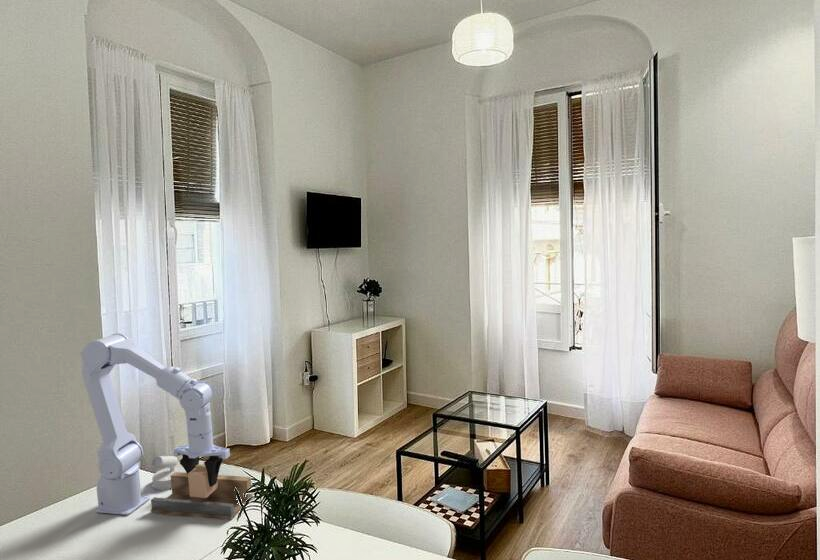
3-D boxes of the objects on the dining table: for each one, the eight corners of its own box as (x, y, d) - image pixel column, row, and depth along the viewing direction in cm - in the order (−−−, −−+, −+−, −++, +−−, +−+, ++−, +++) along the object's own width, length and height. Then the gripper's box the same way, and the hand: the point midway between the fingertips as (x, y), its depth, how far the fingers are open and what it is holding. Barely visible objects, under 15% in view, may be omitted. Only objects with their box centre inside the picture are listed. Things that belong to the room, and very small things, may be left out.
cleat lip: (151, 509, 128) (150, 499, 128) (155, 506, 129) (154, 497, 129) (231, 516, 123) (230, 506, 123) (234, 513, 124) (233, 503, 124)
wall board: (151, 513, 128) (149, 490, 127) (177, 492, 137) (175, 472, 137) (231, 520, 123) (229, 497, 123) (252, 498, 133) (250, 477, 132)
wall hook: (140, 458, 138) (161, 442, 148) (143, 492, 139) (164, 474, 148) (170, 458, 137) (190, 442, 147) (173, 492, 138) (192, 474, 148)
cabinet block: (190, 496, 127) (187, 469, 127) (202, 486, 132) (199, 460, 131) (206, 497, 126) (203, 470, 126) (217, 487, 131) (215, 461, 130)
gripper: (163, 436, 126) (168, 489, 127) (216, 439, 123) (221, 493, 124) (182, 425, 133) (186, 476, 134) (232, 428, 129) (236, 479, 131)
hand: (204, 483), depth 129 cm, fingers closed on cabinet block, 4 cm apart
